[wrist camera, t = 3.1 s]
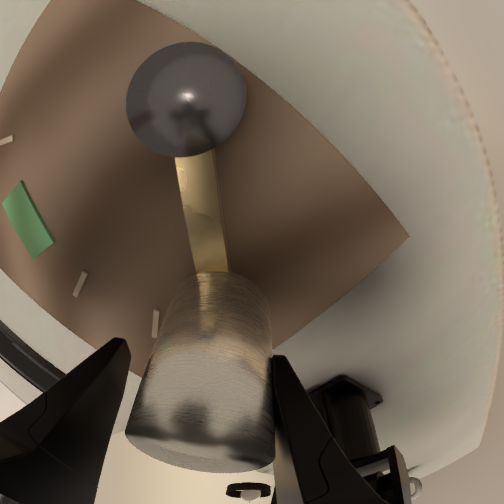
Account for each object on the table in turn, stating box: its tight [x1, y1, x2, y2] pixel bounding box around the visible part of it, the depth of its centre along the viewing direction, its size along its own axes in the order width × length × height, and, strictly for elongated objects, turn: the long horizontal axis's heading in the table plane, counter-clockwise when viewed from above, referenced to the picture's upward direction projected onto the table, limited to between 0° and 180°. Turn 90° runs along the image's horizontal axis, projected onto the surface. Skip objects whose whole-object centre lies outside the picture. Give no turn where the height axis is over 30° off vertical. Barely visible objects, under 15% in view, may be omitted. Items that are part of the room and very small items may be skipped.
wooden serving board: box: [0, 0, 410, 377], centre depth 11 cm, size 20×17×2 cm
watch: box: [226, 482, 271, 503], centre depth 33 cm, size 8×5×4 cm, turn 106°
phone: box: [0, 320, 66, 393], centre depth 19 cm, size 8×1×15 cm
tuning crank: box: [125, 42, 276, 473], centre depth 7 cm, size 13×4×7 cm, turn 5°
